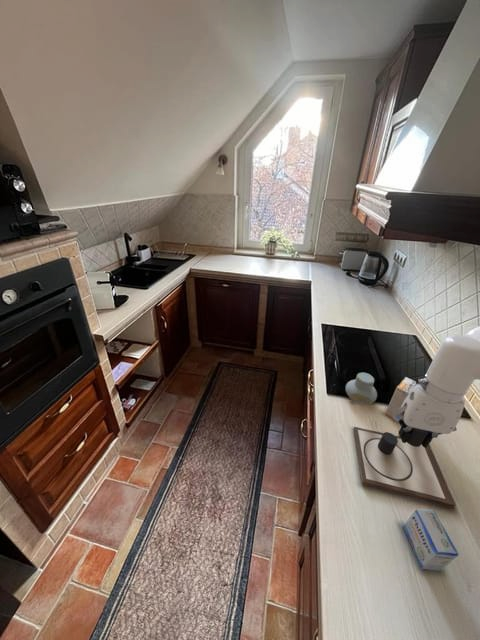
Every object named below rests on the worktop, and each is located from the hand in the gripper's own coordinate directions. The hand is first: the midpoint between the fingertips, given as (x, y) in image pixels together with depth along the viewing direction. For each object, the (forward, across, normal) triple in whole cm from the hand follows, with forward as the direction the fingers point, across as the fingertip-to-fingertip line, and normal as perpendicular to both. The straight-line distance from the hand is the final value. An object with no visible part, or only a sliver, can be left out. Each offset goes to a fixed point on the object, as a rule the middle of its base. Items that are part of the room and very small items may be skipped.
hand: (412, 439), depth 65 cm
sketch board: (+15, +2, +3) cm, 15 cm away
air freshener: (+15, -5, +28) cm, 32 cm away
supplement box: (+15, +7, +24) cm, 29 cm away
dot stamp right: (0, 0, 0) cm, 0 cm away
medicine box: (+15, +2, -17) cm, 23 cm away
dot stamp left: (+13, -2, +6) cm, 14 cm away
